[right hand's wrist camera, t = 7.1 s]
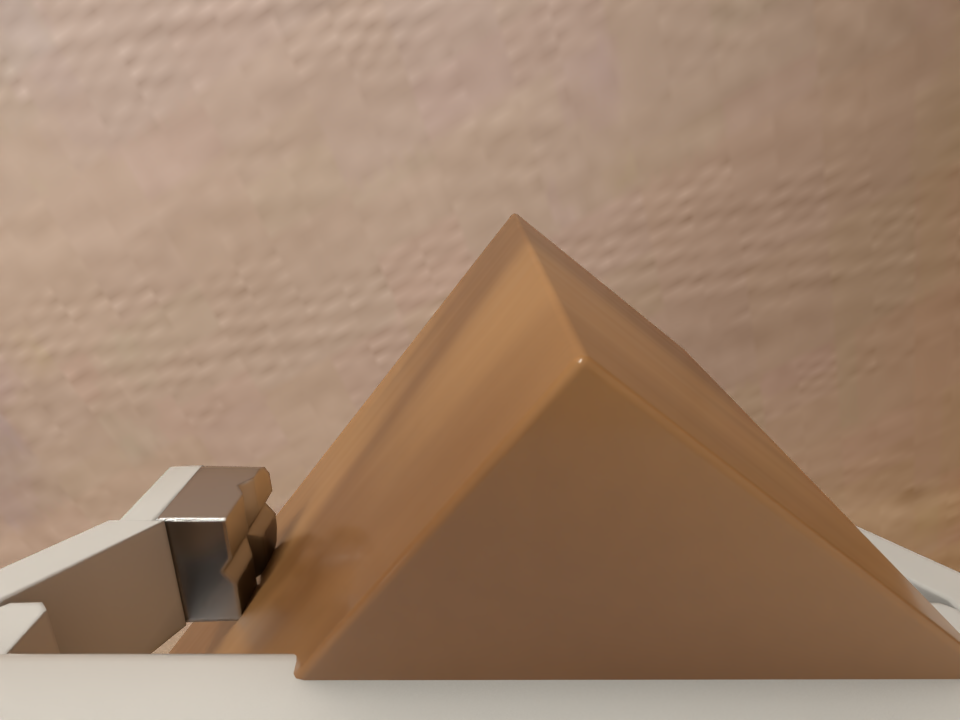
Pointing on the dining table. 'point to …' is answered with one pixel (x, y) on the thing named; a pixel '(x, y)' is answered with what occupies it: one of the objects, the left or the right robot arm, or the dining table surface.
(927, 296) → the dining table surface
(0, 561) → the dining table surface
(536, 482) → the bar
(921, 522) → the dining table surface
